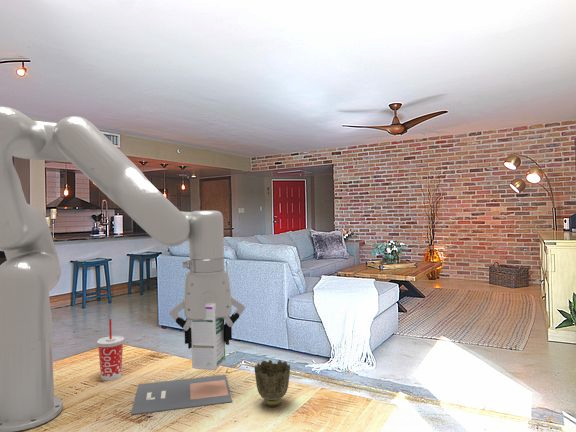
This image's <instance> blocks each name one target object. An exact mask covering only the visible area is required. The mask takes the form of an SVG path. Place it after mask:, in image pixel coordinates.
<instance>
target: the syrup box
mask: <svg viewBox="0 0 576 432" xmlns="http://www.w3.org/2000/svg"><path fill="white" fill-rule="evenodd" d="M206 304H207V305H205V306H206V308H205V309H206V318H205V319H202V320H191V326H190V328H191V344H192V348H191V366H192V369H195V370H204V371H206V370H207V371H217V370H218V368H220V366H221V365H222V364H223V363H225V361H226V343H225V329H224V325H225V320H224V319H223V318H217V316H216V304H215V303H206Z"/></svg>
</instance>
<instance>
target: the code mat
mask: <svg viewBox="0 0 576 432" xmlns="http://www.w3.org/2000/svg"><path fill="white" fill-rule="evenodd" d="M228 403H233V398H232V394H231V390H230V387H229V383H228V378H227V375H226V374H221V375H220V374H219V375H213V376H212V375H211V376H203V377H193V378H192V377H191V378H185V379H183V378H182V379H175V380H166V381H165V380H164V381H155V382H148V383H147V382H146V383H139V384H138V385H137V390H136V394H135V397H134V401H133V404H132V409H131V412H130V415H131V416H132V415H133V416H134V415H135V416H136V415H140V414H142V415H143V414H148V413H158V412H165V411H173V410H181V409H189V408H196V407H197V408H198V407H203V406H204V407H205V406H211V405H212V406H214V405H221V404H228Z"/></svg>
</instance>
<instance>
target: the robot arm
mask: <svg viewBox="0 0 576 432" xmlns="http://www.w3.org/2000/svg"><path fill="white" fill-rule="evenodd" d="M13 157H14V158H18V159H25V160H35V161H36V160H37V161H47V162H48V161H49V162H61V163H62V162H63V163H71V164H72V165H73V166H74V167H76V168H77V170H79V171H80V172H81V173H82V174H83V175H84V176H85V177H87V179H89V180H90V181H91V182H92V184H94V185H95V186H96V187H97V188H98V189H99V190H100V191H101V192H102V193H103V194H104V195H105V196H107V198H108V199H109V200H110V201H112V202H113V203H114V204H116V205H117V206H118V207H119V208H120V209H122V211H123V212H125V213H126V214H127V216H128V217H130V218H131V219H132V220H133V221H134V222H135V223H136V224H137V225H138V226H139V227H140V228H141V229H142V230H143V231H145V232H146V233H147V234H148V235H149V236H150V237H151V238H152V239H153V240H154V241H156V242H157V243H158V244H159V245H161V246H163V247H166V248H175V247H178V246H181V245H182V244H183V243H186V242H188V244H189V245H188V248H189V250H188V254H189V259H188V260H187V261H182V268H183V269H187V270H189V271H188V272H187V273H186V275H185V279H184V280H185V282H184V291H183V293H184V294H183V295H184V297H183V300H182V301H180V302H179V303H178V304H177V305H175V306H174V307H173V308H172V309H170V310H169V316H170V317H171V318H172V319H173V320H174V322H176V324H177V325H178V326H179V327H180V328H182V329H183V331H184V345H187V348H188V350H190V349H192V342H191V320H202V319H205V318H206V309H205V308H206V306H205V305H207V304H206V303H215V304H216V316H217V318H223V319H224V329H225V345H227V346H230V340H233V338H232V337H233V336H232V335H233V332H232V331H233V328H232V327H233V326H234V324H235V322H237V321H238V319H240V316H241V315H242V313H244V311H245V309H246V308H245V305H244V304H242V303H241V302H239V301H238V300H237V299H235V298H233V297H232V292H231V282H230V276H229V272H228V270H225V258H224V257H225V254H224V253H225V250H224V249H225V247H224V246H225V245H224V244H225V241H224V237H225V236H224V215H223V213H222V212H221V211H219V210H193V211H181V210H179V209H178V207H177V206H175V205H174V204H173V203H172V202H171V201H170V200H169V199H168V198H167V197H166V196H165V195H164V194H163V193H162V192H161V191H160V190H159V189H158V188H157V187H155V185H154V184H152V182H151V181H150V180H149V178H147V177H146V176H145V174H144V173H143V172H142V170H141V169H140V168H139V167H138V166H137V165H136V164H135V163H134V162H132V160H131V159H130V158H129V157H127V155H126V154H124V152H123V151H121V150H120V149H119V148H118V147H117V146H116V145H115V144H114V143H113V142H112V141H111V140H110V139H109V137H107V136H106V135H105V134H104V133H103V132H102V131H100V129H99V128H98V127H97V126H96V125H95V124H94V123H92V122H91V121H89V119H86V118H85V117H83V116H79V115H78V116H77V115H70V116H66V117H63V118H62V119H60V120H59V121H58V122H52V121H51V122H50V121H42V120H34V119H32V118H30V117H29V116H27V115H26V114H25V113H23V112H21V111H20V110H17V109H15V108H12V107H8V106H4V105H3V106H2V105H0V252H4V255H5V259H6V260H5V261H4V262H2V263H1V264H0V432H20V431H25V430H29V429H32V428H35V427H39V426H42V425H43V424H45V423H47V422H49V421H51V420H53V419H54V418H56V417H58V416H59V414H60V413H61V412H62V411H63V408H64V405H63V404H64V402H63V400H62V399H61V398H60V397H57V396H55V388H54V387H55V384H54V381H55V380H54V344H53V343H54V341H53V340H54V339H53V338H54V337H53V336H54V335H53V315H52V307H51V302H50V292H52V291H53V289H54V288H55V287H57V285H58V283H59V281H60V278H61V274H62V268H61V263H60V259H59V256H58V253H57V249H56V246H55V243H54V239H53V236H52V232H51V229H50V225H49V223H48V220H47V218H46V216H45V215H44V214H43V212H42V211H41V210H40V209H39V208H37V207H36V206H34V205H32V204H30V203H28V202H27V199H26V197H25V194H24V191H23V189H22V188H23V187H22V183H21V179H20V177H19V174H18V172H17V170H16V167H15V165H14V161H13ZM232 306H233V307H235V308H236V310H235V311H234V312H233V313H232ZM182 310H183V311H184V317H185V318H186V319H184V318H182V317H181V316H180V315H179V313H180V311H182Z"/></svg>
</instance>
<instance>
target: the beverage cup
mask: <svg viewBox="0 0 576 432" xmlns="http://www.w3.org/2000/svg"><path fill="white" fill-rule="evenodd" d="M108 321H109V322H108V323H109V327H108V328H109V329H108V330H109V334H108V335H109V336H105V337H101V338H99V339H98V340H97V341H96V346H97V347H98V355H99V369H100V379H101V380H102V381H113V380H117V379H119V378H121V376H122V371H123V369H122V368H123V354H124V353H123V349H124V348H123V347H124V346H123V345H124V342H125V337H124V336H121V335H112V334H113V333H112V330H113V329H112V319H111V318H109V319H108Z"/></svg>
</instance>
